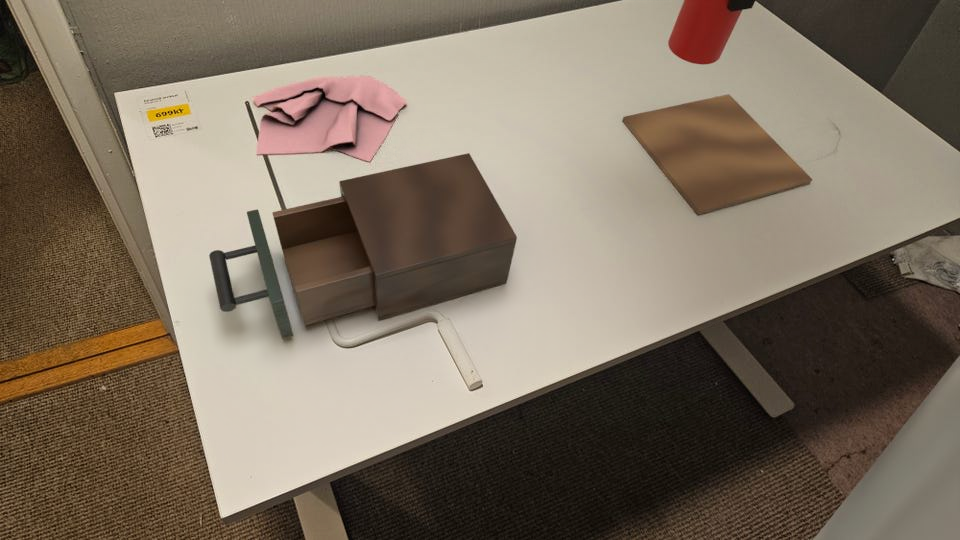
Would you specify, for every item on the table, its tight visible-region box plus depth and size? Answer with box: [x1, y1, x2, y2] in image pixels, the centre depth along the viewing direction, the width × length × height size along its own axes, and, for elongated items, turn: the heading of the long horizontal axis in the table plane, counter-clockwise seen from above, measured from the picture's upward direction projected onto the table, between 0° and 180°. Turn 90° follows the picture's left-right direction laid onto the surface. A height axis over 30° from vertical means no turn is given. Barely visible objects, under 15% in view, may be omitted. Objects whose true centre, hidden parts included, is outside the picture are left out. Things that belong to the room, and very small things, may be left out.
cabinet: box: [338, 152, 518, 321], centre depth 70 cm, size 16×14×9 cm
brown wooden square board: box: [622, 93, 813, 216], centre depth 90 cm, size 20×20×1 cm
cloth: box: [252, 75, 408, 163], centre depth 85 cm, size 20×22×2 cm
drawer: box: [208, 196, 376, 340], centre depth 66 cm, size 19×12×7 cm, turn 113°
